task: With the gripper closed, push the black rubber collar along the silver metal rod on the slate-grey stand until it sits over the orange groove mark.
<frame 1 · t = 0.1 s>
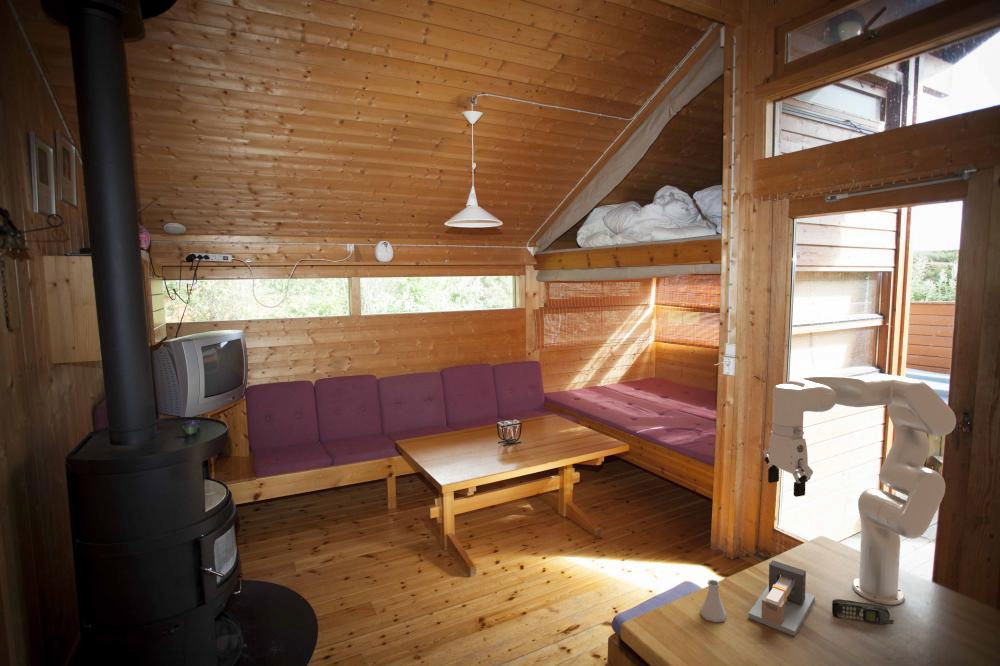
hand: (785, 488, 150), 37 cm above the table, tool pointing down, fingers open, 9 cm apart
collar: (786, 581, 157), point 7 cm above the table, slide at 0.0 cm
flask: (713, 615, 154), on the table
pipe stand: (782, 609, 155), on the table
mobile phone: (862, 620, 150), on the table
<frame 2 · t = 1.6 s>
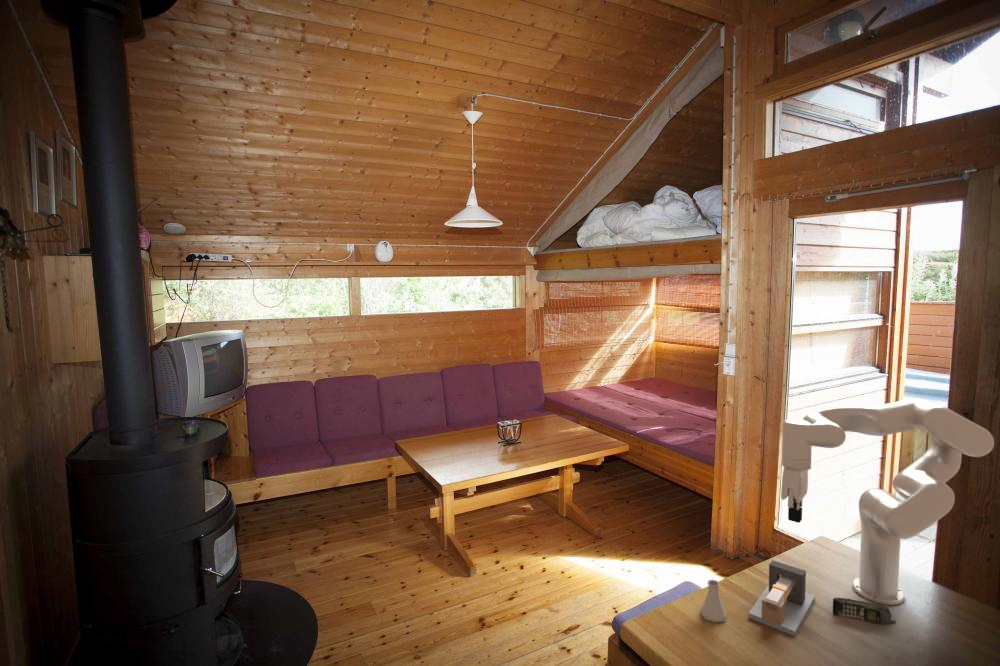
hand: (794, 520, 160), 23 cm above the table, tool pointing down, fingers closed
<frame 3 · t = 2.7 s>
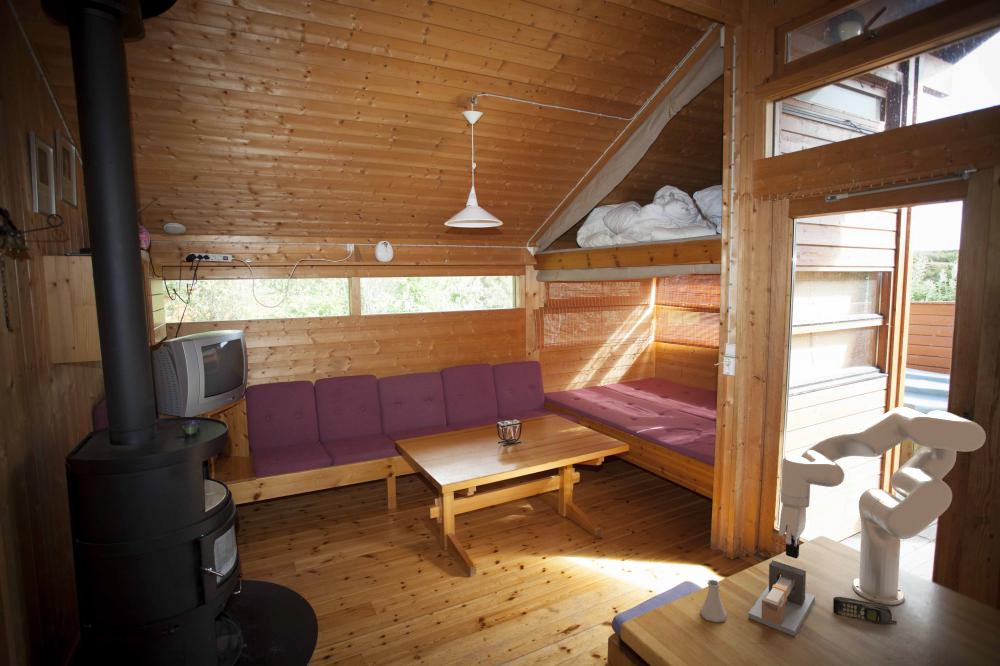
hand: (792, 555, 162), 12 cm above the table, tool pointing down, fingers closed
nothing on the table moved.
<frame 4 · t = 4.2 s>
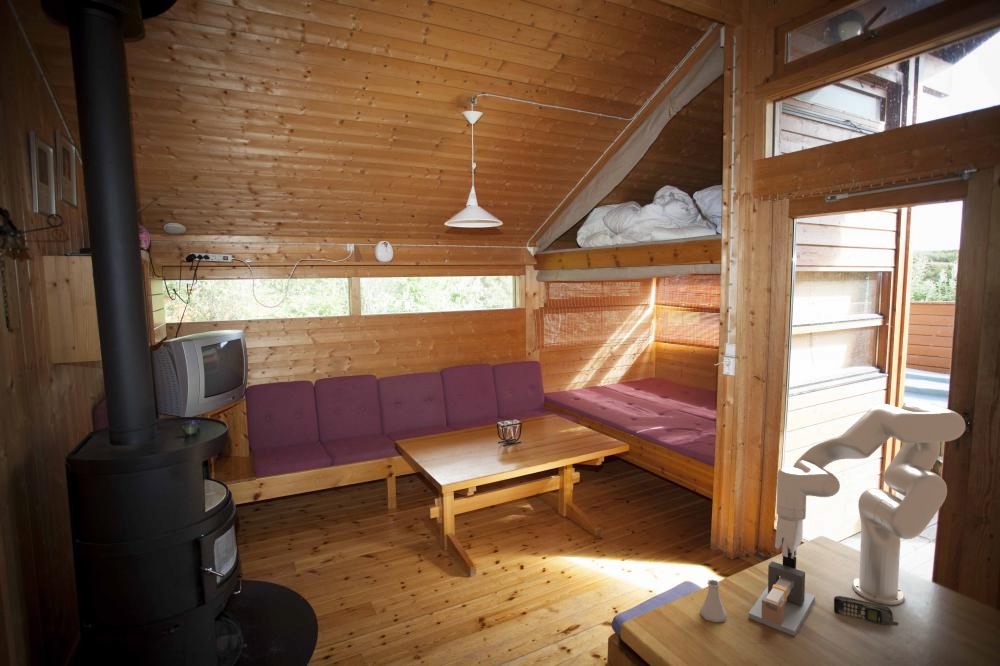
hand: (789, 568, 159), 9 cm above the table, tool pointing down, fingers closed
collar: (786, 583, 157), point 7 cm above the table, slide at 0.7 cm, touching gripper
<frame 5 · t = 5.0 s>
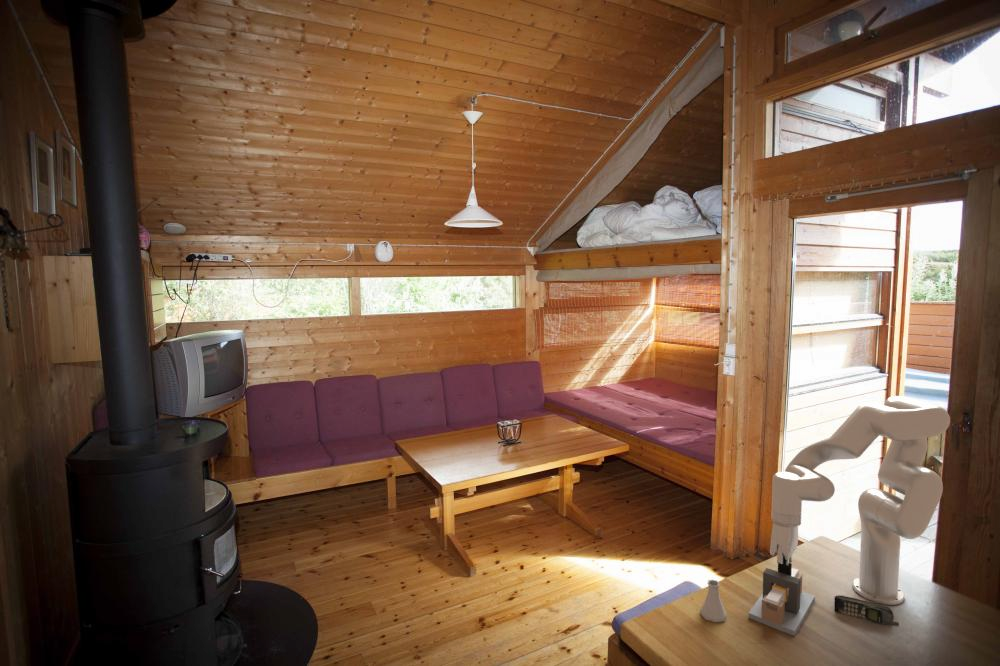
hand: (784, 575, 156), 9 cm above the table, tool pointing down, fingers closed
collar: (781, 590, 154), point 6 cm above the table, slide at 5.3 cm, touching gripper
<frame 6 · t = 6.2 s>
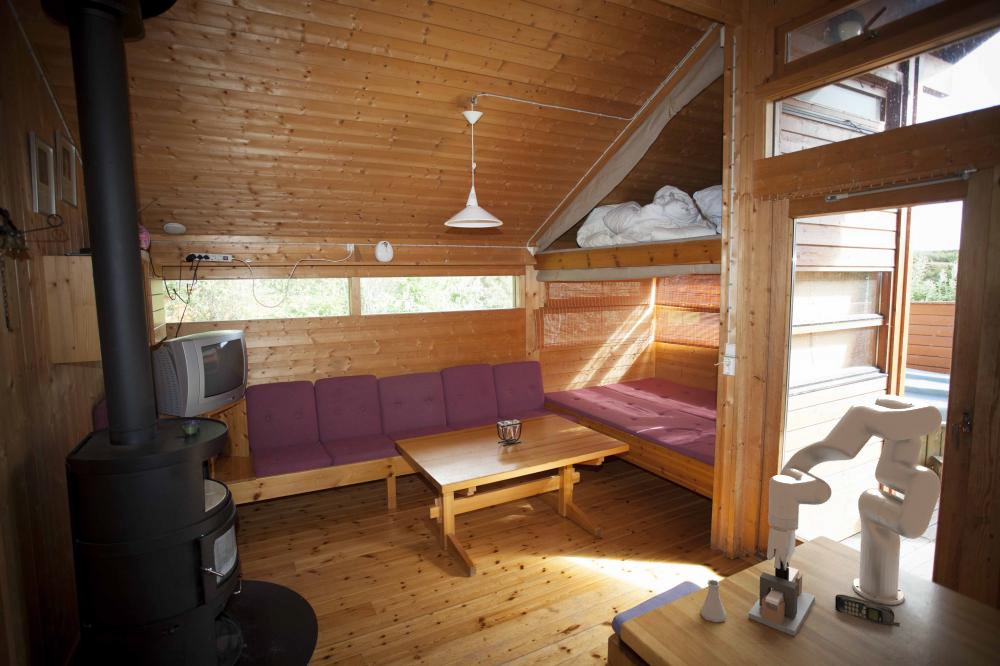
hand: (781, 580, 154), 9 cm above the table, tool pointing down, fingers closed
collar: (778, 594, 152), point 7 cm above the table, slide at 8.1 cm, touching gripper
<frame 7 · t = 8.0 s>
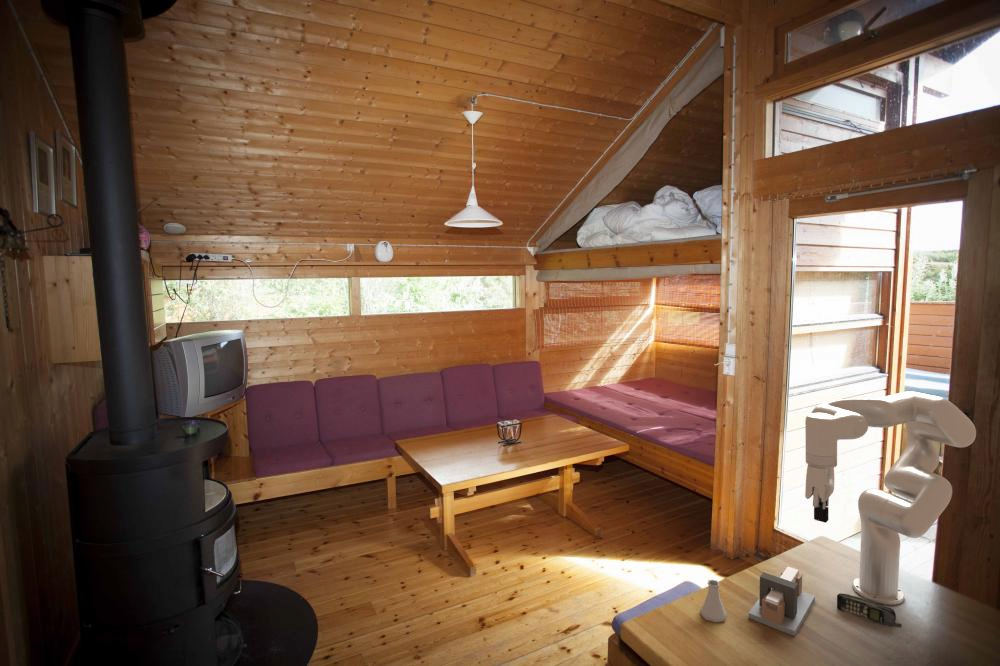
hand: (821, 520, 151), 27 cm above the table, tool pointing down, fingers closed
collar: (778, 594, 152), point 7 cm above the table, slide at 8.1 cm
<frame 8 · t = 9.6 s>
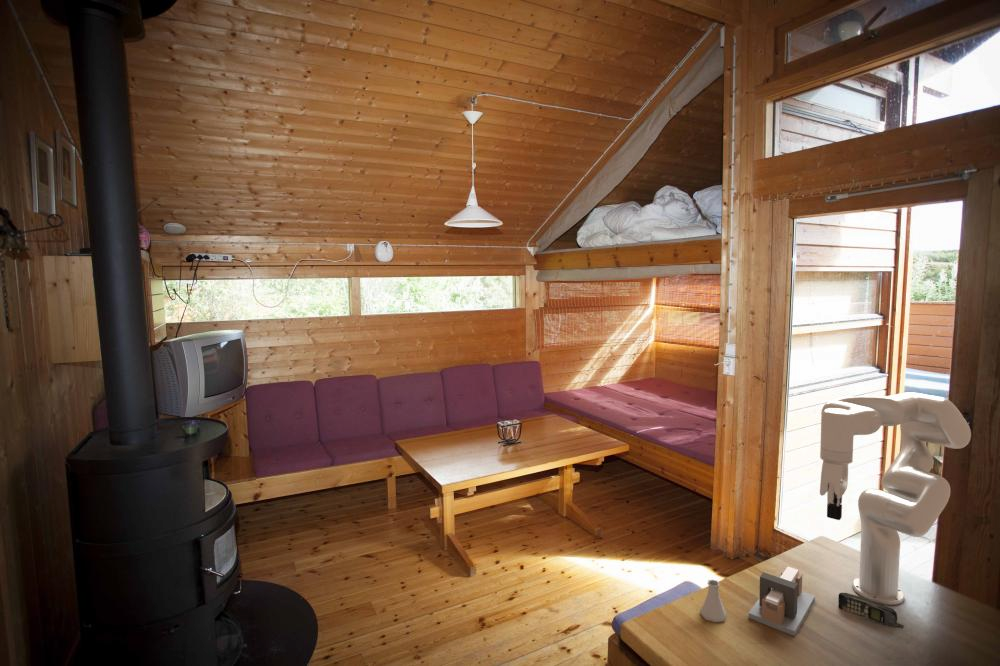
hand: (834, 517, 148), 29 cm above the table, tool pointing down, fingers closed
at the end: collar slide at 8.1 cm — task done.
